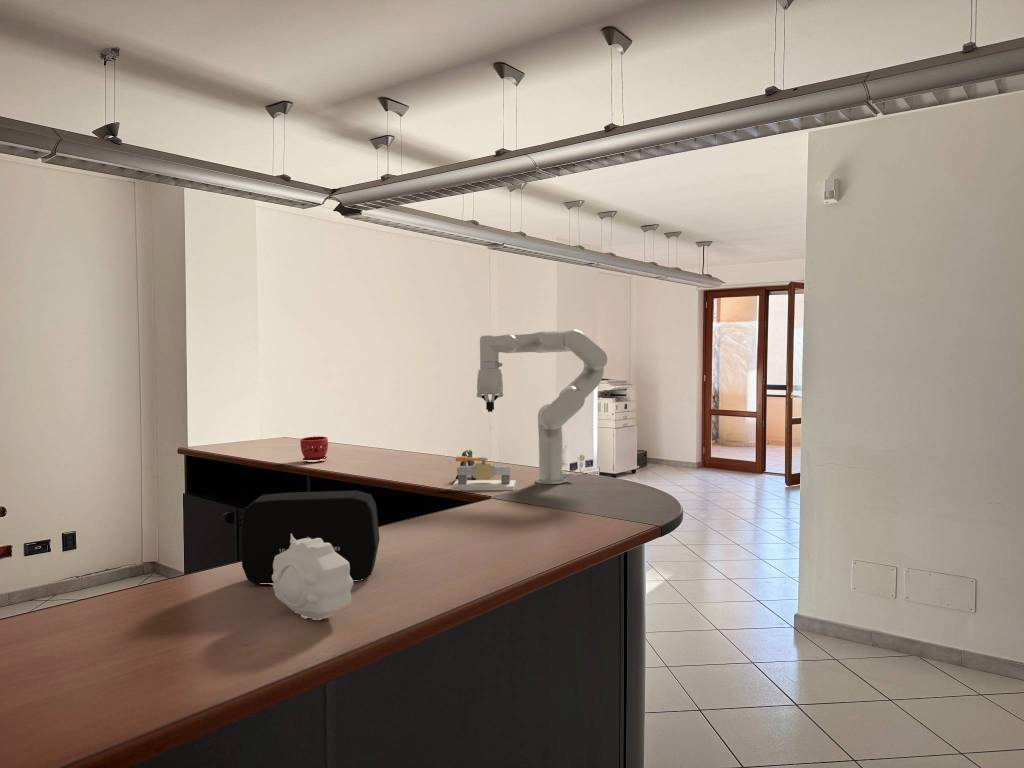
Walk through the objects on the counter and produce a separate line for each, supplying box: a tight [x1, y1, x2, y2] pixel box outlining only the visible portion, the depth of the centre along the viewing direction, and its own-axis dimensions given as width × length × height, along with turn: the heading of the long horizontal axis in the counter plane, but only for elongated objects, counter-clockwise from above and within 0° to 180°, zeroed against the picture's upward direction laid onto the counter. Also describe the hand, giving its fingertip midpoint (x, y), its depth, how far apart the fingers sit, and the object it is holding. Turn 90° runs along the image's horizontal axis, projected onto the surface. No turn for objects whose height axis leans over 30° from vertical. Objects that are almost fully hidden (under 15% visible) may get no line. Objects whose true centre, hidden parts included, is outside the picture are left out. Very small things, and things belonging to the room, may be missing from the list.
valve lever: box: [455, 455, 488, 462], centre depth 278 cm, size 12×3×2 cm, turn 83°
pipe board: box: [451, 475, 517, 491], centre depth 278 cm, size 24×13×5 cm, turn 86°
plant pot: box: [299, 435, 329, 461], centre depth 351 cm, size 13×13×12 cm
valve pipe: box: [456, 461, 512, 480], centre depth 278 cm, size 21×6×7 cm, turn 86°
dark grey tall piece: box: [455, 449, 476, 480], centre depth 296 cm, size 9×6×12 cm, turn 79°
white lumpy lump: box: [272, 534, 354, 619], centre depth 142 cm, size 11×18×16 cm, turn 52°
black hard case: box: [240, 490, 380, 585], centre depth 167 cm, size 30×12×20 cm, turn 95°
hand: (490, 411), depth 285 cm, fingers closed
